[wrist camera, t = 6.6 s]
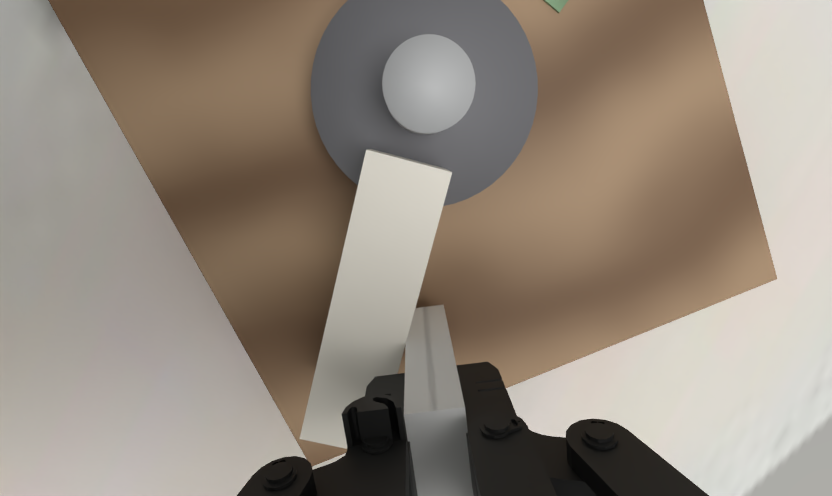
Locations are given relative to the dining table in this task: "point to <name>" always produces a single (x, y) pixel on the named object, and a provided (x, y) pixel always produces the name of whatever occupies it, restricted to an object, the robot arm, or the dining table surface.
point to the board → (460, 222)
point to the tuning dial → (406, 163)
